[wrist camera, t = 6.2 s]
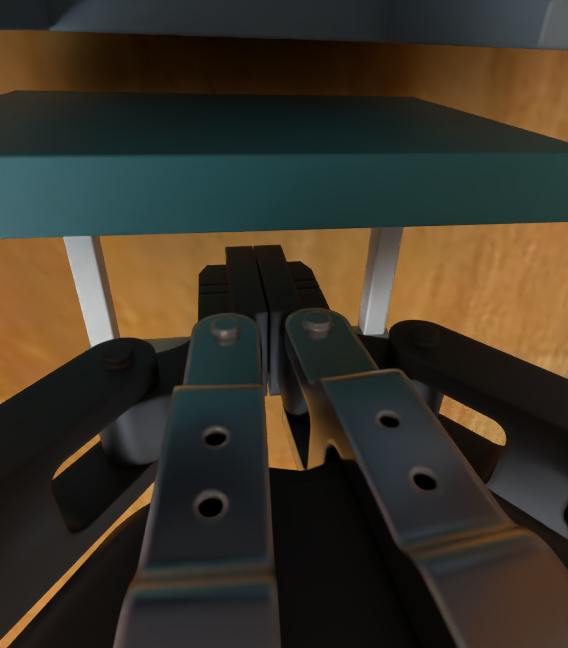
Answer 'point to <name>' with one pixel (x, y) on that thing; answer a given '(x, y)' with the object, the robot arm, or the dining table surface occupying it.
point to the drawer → (271, 142)
